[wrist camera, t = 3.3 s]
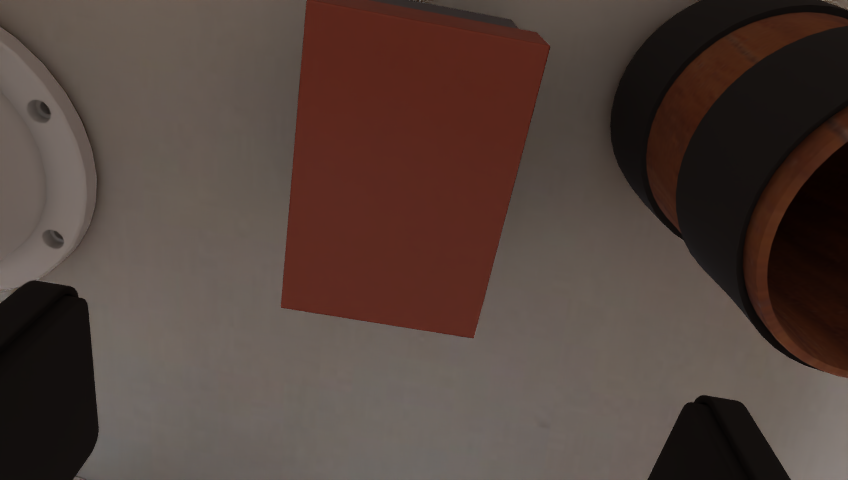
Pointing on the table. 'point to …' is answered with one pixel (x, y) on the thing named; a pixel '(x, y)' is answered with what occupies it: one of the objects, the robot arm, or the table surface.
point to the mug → (750, 159)
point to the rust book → (404, 162)
